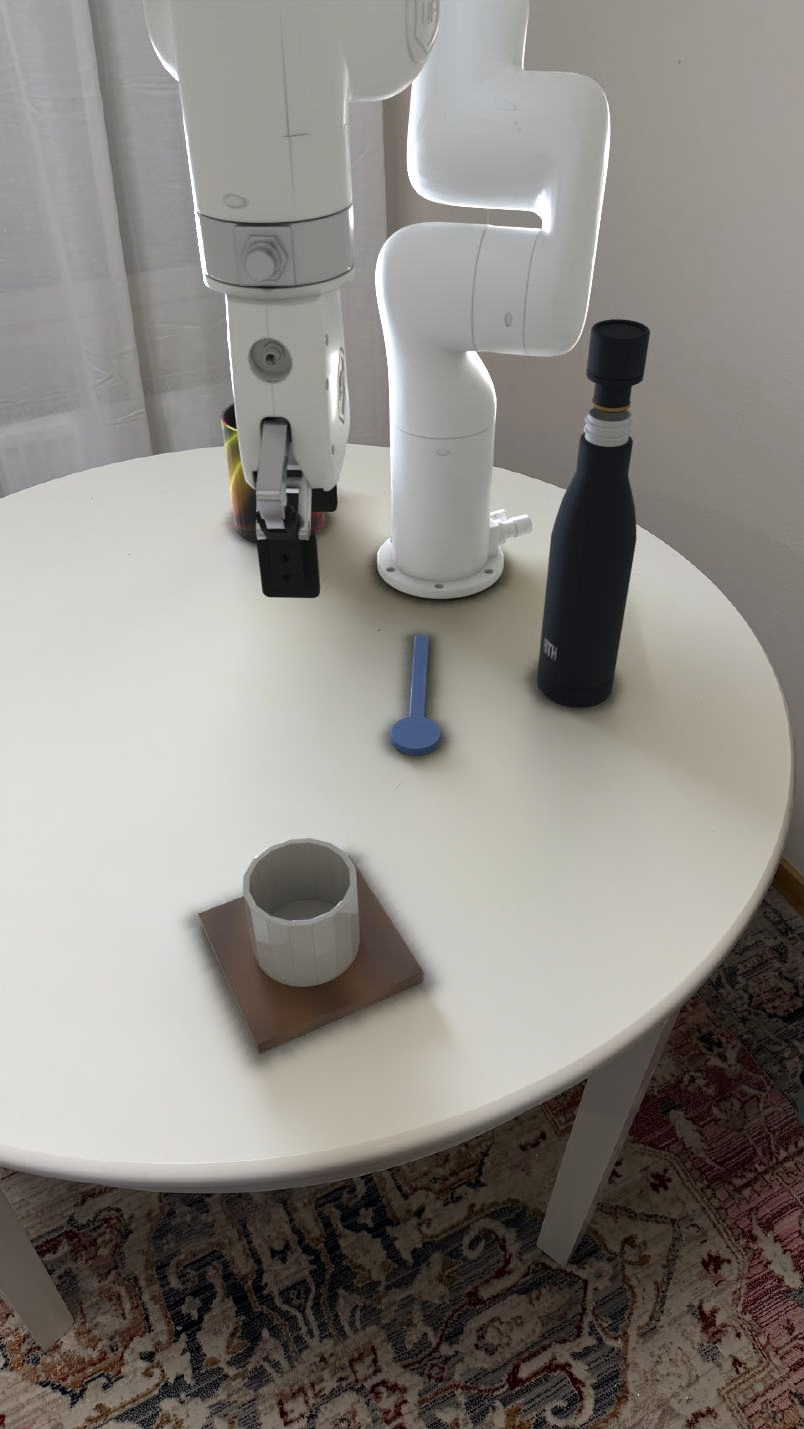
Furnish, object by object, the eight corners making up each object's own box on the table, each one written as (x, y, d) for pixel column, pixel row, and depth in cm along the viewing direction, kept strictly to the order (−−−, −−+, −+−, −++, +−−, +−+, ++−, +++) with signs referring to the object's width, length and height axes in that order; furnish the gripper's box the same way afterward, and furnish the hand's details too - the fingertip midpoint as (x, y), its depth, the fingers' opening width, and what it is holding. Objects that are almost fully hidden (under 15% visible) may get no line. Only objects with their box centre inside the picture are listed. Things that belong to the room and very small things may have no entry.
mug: (321, 479, 115) (315, 376, 107) (326, 541, 104) (319, 432, 97) (236, 484, 114) (223, 381, 107) (233, 546, 104) (218, 437, 96)
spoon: (399, 639, 91) (399, 633, 91) (443, 640, 91) (444, 634, 90) (389, 754, 79) (389, 748, 79) (440, 756, 79) (440, 749, 79)
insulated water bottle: (621, 672, 87) (680, 319, 68) (600, 716, 83) (656, 352, 63) (550, 654, 89) (588, 307, 70) (526, 695, 85) (559, 337, 65)
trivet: (350, 863, 71) (349, 854, 70) (423, 981, 63) (423, 971, 62) (199, 921, 67) (197, 912, 66) (259, 1054, 59) (257, 1045, 59)
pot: (333, 886, 68) (328, 824, 64) (377, 960, 63) (375, 898, 59) (238, 923, 65) (227, 861, 62) (276, 1003, 61) (267, 942, 57)
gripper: (336, 304, 42) (352, 635, 53) (367, 200, 56) (375, 483, 67) (160, 303, 43) (212, 632, 54) (232, 200, 56) (263, 481, 67)
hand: (303, 549), depth 60 cm, fingers open, 9 cm apart
